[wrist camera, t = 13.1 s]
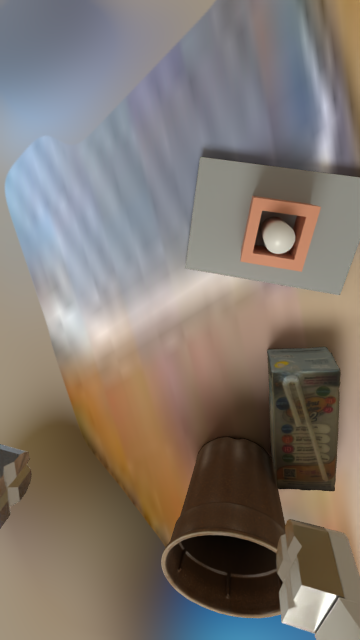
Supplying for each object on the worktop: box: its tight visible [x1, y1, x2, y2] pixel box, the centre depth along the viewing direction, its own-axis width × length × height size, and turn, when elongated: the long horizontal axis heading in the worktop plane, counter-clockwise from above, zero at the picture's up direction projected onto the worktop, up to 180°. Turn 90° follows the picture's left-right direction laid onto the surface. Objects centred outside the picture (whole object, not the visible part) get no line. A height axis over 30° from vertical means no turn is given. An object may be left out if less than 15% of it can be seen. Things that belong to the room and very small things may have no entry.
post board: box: [185, 157, 360, 295], centre depth 31 cm, size 18×12×8 cm, turn 83°
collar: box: [240, 196, 321, 272], centre depth 31 cm, size 6×6×5 cm
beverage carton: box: [267, 347, 340, 491], centre depth 41 cm, size 8×19×7 cm, turn 9°
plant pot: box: [161, 437, 286, 618], centre depth 43 cm, size 16×16×16 cm
